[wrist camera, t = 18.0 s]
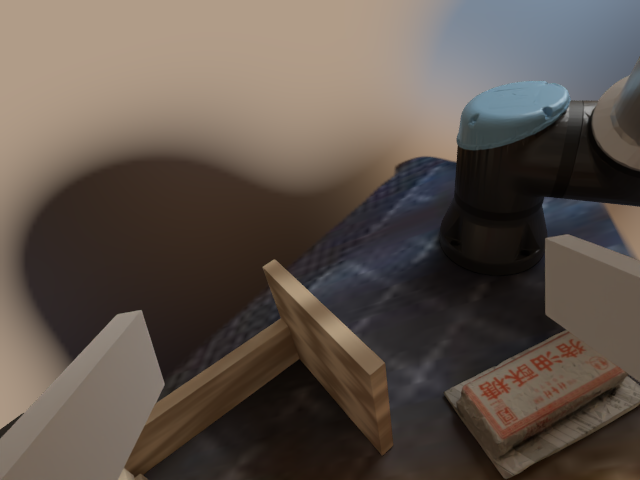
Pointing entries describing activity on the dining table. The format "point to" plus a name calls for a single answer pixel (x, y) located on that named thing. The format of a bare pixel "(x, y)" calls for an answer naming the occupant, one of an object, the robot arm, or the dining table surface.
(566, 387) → the packaged product
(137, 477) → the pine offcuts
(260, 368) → the oak rack
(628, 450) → the dining table surface
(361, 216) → the dining table surface
